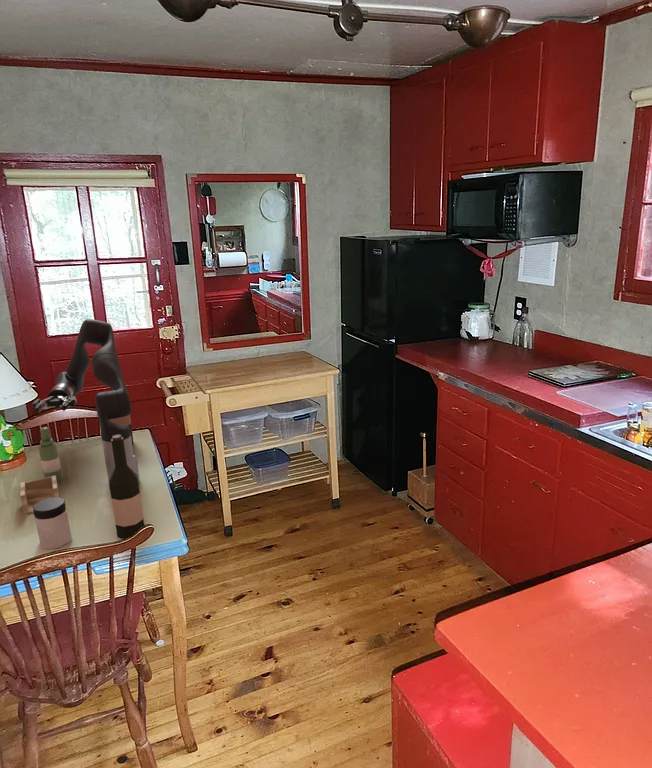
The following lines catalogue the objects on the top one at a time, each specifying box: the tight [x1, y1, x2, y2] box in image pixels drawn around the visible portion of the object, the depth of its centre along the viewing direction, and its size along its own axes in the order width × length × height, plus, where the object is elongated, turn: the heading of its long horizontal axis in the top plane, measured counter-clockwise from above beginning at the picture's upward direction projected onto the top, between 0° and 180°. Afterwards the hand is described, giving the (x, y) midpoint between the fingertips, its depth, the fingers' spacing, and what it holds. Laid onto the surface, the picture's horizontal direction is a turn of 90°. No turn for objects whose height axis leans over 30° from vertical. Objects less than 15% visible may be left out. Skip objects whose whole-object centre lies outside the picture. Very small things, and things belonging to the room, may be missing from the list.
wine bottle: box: [108, 435, 145, 540], centre depth 162 cm, size 8×8×30 cm
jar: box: [33, 496, 73, 550], centre depth 161 cm, size 9×8×12 cm
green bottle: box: [37, 426, 64, 485], centre depth 196 cm, size 6×6×20 cm
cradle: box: [19, 475, 60, 516], centre depth 183 cm, size 10×10×7 cm
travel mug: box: [109, 413, 134, 444], centre depth 227 cm, size 8×8×20 cm
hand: (50, 409), depth 203 cm, fingers open, 8 cm apart
